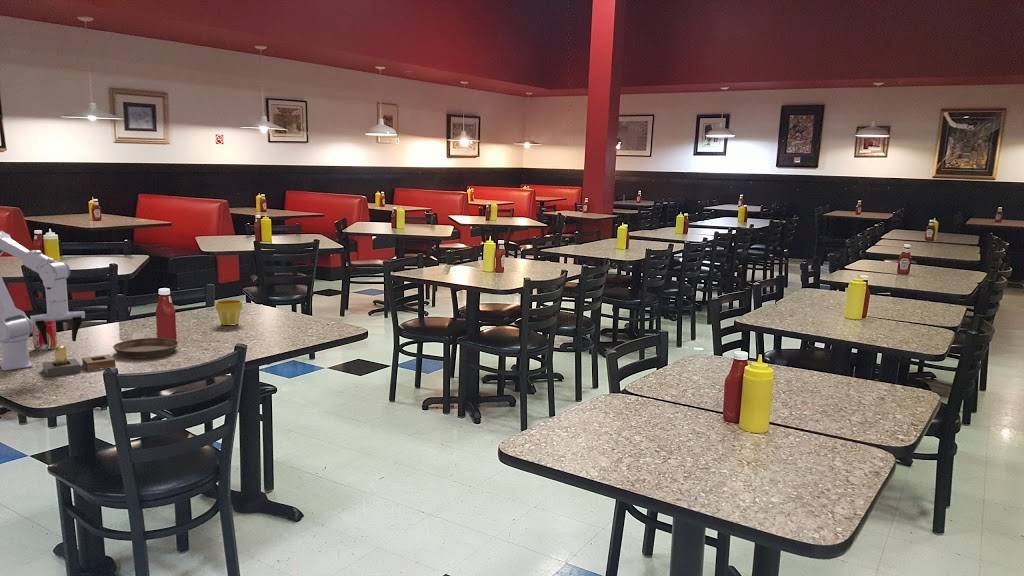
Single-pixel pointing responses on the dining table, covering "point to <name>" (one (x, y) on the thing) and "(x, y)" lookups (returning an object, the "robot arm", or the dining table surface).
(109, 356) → the block
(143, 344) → the plant saucer
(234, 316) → the plant pot
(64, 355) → the brass pin
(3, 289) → the robot arm
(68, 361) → the grey slotted block
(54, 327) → the soda can
